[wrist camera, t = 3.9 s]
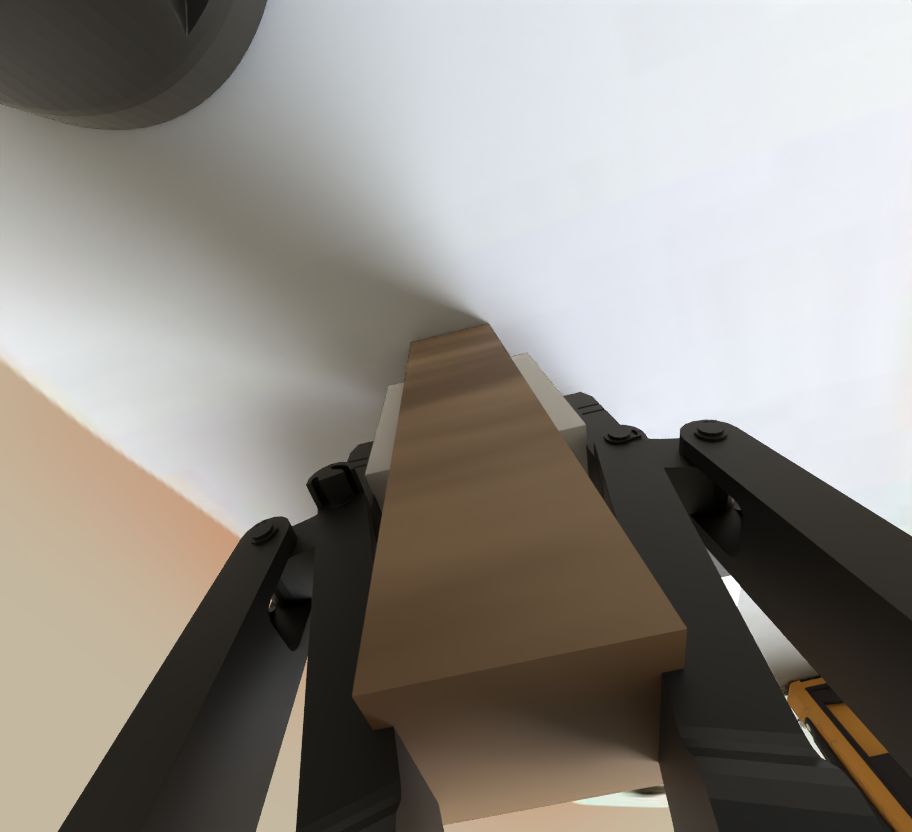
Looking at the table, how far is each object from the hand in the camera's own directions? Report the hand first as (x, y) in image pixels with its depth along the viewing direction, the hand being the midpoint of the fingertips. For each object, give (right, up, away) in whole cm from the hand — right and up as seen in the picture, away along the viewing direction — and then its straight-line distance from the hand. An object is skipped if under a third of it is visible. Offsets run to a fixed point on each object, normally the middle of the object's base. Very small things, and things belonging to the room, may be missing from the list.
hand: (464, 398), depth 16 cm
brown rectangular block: (0, +2, +3) cm, 4 cm away
